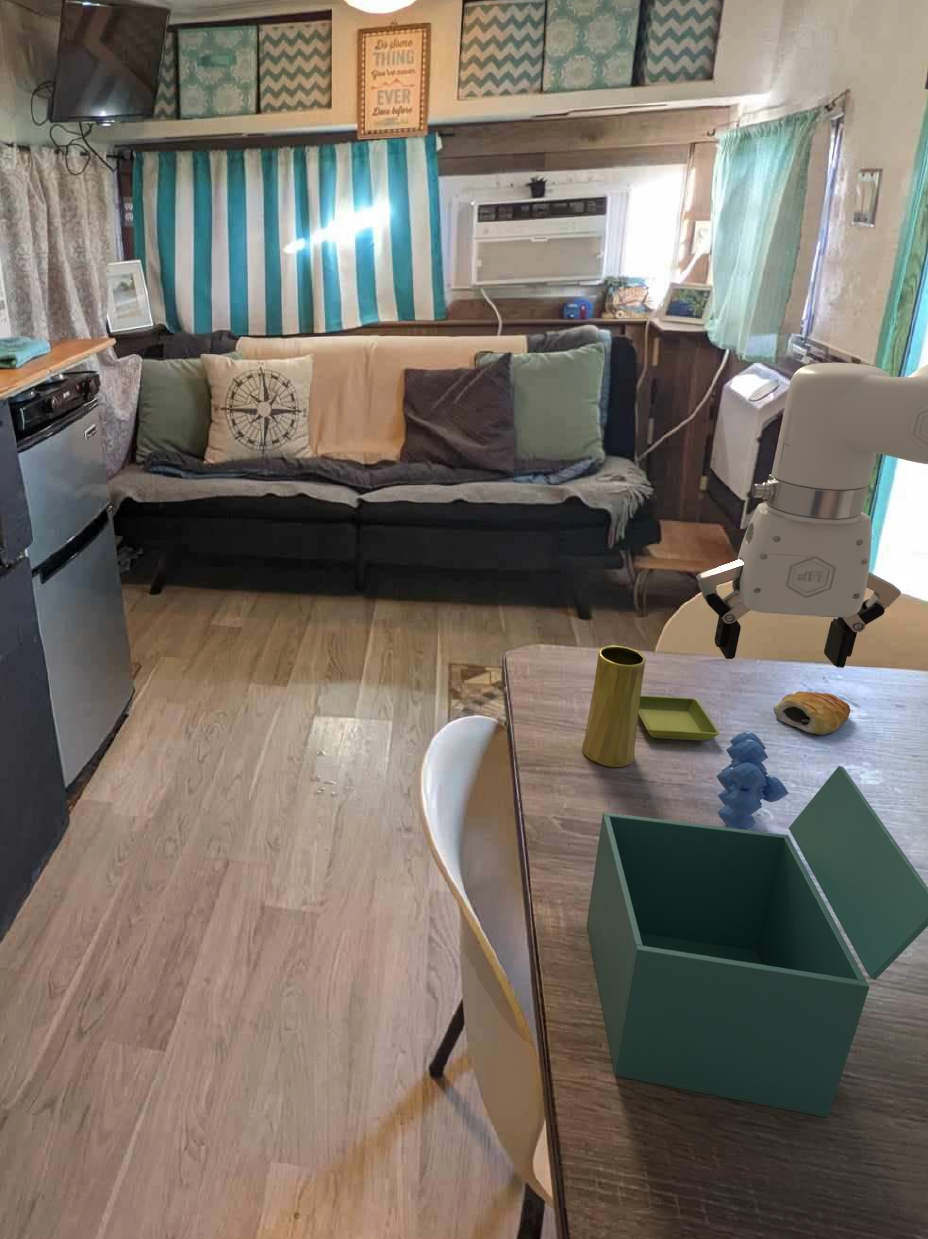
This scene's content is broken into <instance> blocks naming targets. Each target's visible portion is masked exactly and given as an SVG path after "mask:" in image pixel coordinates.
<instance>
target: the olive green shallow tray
mask: <svg viewBox="0 0 928 1239" xmlns="http://www.w3.org/2000/svg"><path fill="white" fill-rule="evenodd" d="M638 717H640V720H641V722H642V723H643V726H644V727H645V728H646V731H647V733H648V734H649V735H650V736H651V737H652V738H653V739H664V740H665V739H666V740H681V741H695V742H697V741H699V742H701V741H703V742H704V741H708V740H711V739H713V738H715V737H717V736H719V735H720V731H719V729H718V728H717V726H716V725H715V723H713V721H712V719H711V718H710V717H709V715H708V713H707V712H706V711H705V708H703V706H702V704H701V703H700V701H699V700H698V699H697V698H692V697H677V696H661V695H660V696H659V695H658V696H657V695H641V696H640V705H639V712H638Z"/></svg>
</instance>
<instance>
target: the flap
mask: <svg viewBox="0 0 928 1239" xmlns="http://www.w3.org/2000/svg"><path fill="white" fill-rule="evenodd" d="M788 830H789V832H790V834H791V836H792V838H793V839H794V841H795V844H796V845H797V846H798V848H799V850H800V852H801V854H802V856H803V858H804V859H805V861H806V863H807V865H808V867H809V869H810V870H811V873H812V874H813V876H814V878H815V879H816V881H817V883H818V885H819V887H820V889H821V891H822V892H823V894H824V896H825V898H826V900H827V902H828V904H829V906H830V907H831V909H832V911H833V913H834V915H835V917H836V919H837V920H838V922H839V924H840V926H841V928H842V930H843V932H844V934H845V935H846V937H847V938H848V940H849V943H850V945H851V947H852V948H853V950H854V952H855V953H856V955H857V957H858V959H859V961H860V962H861V964H862V966H863V968H864V971H865V972H866V974H867V975H868V977H869V979H871V980H874V981H876V980H877V979H878V978H879V977H880V976H881V975H882V974H883V973H884V972H885V971H886V970H887V969H888V968H889V967H890V966H891V965H892V963H894V962H895V960H897V959H898V958H899V957H900V955H901V954H903V952H904V951H906V949H907V948H908V947H909V946H910V945H911V944H912V943H913V942H914V941H915V940H916V939H917V938H918V937H919V936H920V935H921V934H922V933H923V932H924V931H925V930H926V929H927V928H928V885H927V884H926V883H925V881H924V880H923V878H922V877H921V875H920V874H919V872H918V871H917V870H916V868H915V867H914V865H913V864H912V863H911V861H910V860H909V858H908V857H907V856H906V854H905V853H904V851H903V849H902V848H901V847H900V846H899V844H898V843H897V842H896V840H895V839H894V837H893V836H892V834H891V833H890V831H889V830H888V829H887V827H886V826H885V824H884V823H883V822H882V820H881V819H880V817H879V816H878V815H877V813H876V812H875V810H874V808H873V807H872V806H871V804H870V803H869V801H868V800H867V799H866V797H865V796H864V794H863V793H862V791H861V790H860V788H859V787H858V786H857V784H856V783H855V781H854V780H853V779H852V777H851V776H850V774H849V773H848V771H847V770H846V769H845V767H844V766H841V765H838V766H837V767H836V769H835V770H834V771H833V772H832V774H831V775H830V776H829V777H828V779H827V780H826V781H825V782H824V783H823V785H822V786H821V787H820V788H819V790H818V791H817V792H816V794H814V796H813V797H812V798H811V800H809V802H808V803H807V805H806V806H805V807H804V808H803V809H802V811H800V813H799V815H798V816H797V817H796V818H795V819H794V821H793V822H792V823H791V824H790V826H789V827H788Z"/></svg>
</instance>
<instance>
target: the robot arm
mask: <svg viewBox="0 0 928 1239" xmlns="http://www.w3.org/2000/svg"><path fill="white" fill-rule="evenodd" d="M782 415H783V416H782V418H781V419H782V420H781V425H780V429H779V435H778V439H777V446H776V449H775V455H774V458H773V465H772V468H771V474H768V476H767V479H766V482H762V483H753V484H752V485H751V489H750V490H751V491H750V492H751V498H760V499H761V500H763V501H765V502H763V503H762V502H761V503H759V504H758V505H757V506H756V509H754V510H755V511H754V512H753V515H752V516H751V518H750V521H749V523H748V526H747V528H746V531H745V533H744V537H743V538H742V542H741V545H740V549H739V552H738V555H737V558H736V560H735V561H732V562H730V563H726V564H723V565H721V566H718V567H716V568H712V569H709V570H705V571H703V572H700V573H698V574H697V575H696V576H695V581H696V583H697V586H698V588H699V590H700V592H701V594H702V597H703V599H704V600H705V602H706V603H707V605H708V606H709V607H710V608H711V609H712V610H713V611H714V612H715V613H716V614H717V615H718V618H717V624H716V627H715V628H716V629H715V635H714V644H715V647H717V648H719V650H720V652H721V653H722V655H723V656H724V658H725V659H726V660H733V659H735V658H736V654H737V649H738V644H739V638H740V634H741V627H742V625H741V624H740V623H739V621H738V620H739V619H741V618H742V617H743V616H745V615H747V613H749V612H750V611H753V612H755V613H761V614H774V615H775V614H776V615H789V616H805V617H820V618H832V620H831V621H830V625H829V629H828V633H827V637H826V641H825V644H824V649H823V654H824V655H825V656H826V658H827V659H828V660H829V662H831V664H832V665H833V666H834V667H836V668H839V669H844V668H845V666H846V662H847V658H849V657H851V656H852V655H853V650H854V646H855V642H856V638H857V634H858V633H861V632H863V631H864V630H865V628H866V625H868V624H870V623H872V622H873V621H876V620H878V619H879V618H881V617H882V616H883V615H884V614H885V612H886V609H888V608H889V607H890V606H891V605H892V604H893V603H895V601H896V600H897V599H898V598H899V597H900V596H901V593H902V592H901V591H902V590H901V589H899V588H898V587H897V586H896V585H894V584H893V583H891V582H890V581H887V580H886V579H884V578H882V577H880V576H877V575H875V574H874V573H873V572H870V564H871V557H872V556H871V554H872V536H873V534H872V533H873V531H872V517H871V516H870V515H869V514H867V513H866V512H863V508H864V505H865V501H866V496H867V493H868V488H869V484H870V480H871V476H872V472H873V468H874V464H875V461H876V460H875V459H876V456H877V454H879V455H884V456H887V457H891V458H894V459H895V458H896V459H900V460H904V461H908V462H911V463H916V464H917V463H918V464H922V465H928V364H926V365H924V366H921V367H920V368H918V369H916V370H915V371H914V372H912V373H911V374H909V375H908V376H891V375H890V374H889V373H888V371H886V370H885V369H883V368H880V367H877V366H873V365H869V364H862V363H861V364H860V363H851V362H819V363H818V362H817V363H812V364H808V365H803V366H802V367H801V368H799V369H797V371H796V372H794V374H793V375H792V377H791V379H790V382H789V386H788V390H787V395H786V398H785V404H784V408H783V414H782ZM730 581H732V582H731V583H732V584H731V588H732V590H733V591H731V592H730V593H729V594H728V595H726V596H725V597H724V598H722V597H721V596H720V595H719V594H718V591H717V587H718V586H719V585H721V584H724V583H727V582H730ZM867 589H869V590H871V591H873V594H872V595H870V598H868V599H865V595H866V591H867Z"/></svg>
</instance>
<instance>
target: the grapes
mask: <svg viewBox="0 0 928 1239" xmlns="http://www.w3.org/2000/svg"><path fill="white" fill-rule="evenodd" d="M729 742H730V743H731V745H730V746H729V747H727V748H726V749H725V751H726V753H727V754H728V756H729V757H730V759H731V761H730V764H728V765H727V766H726V767H724V768H723V769H721V771H720V772H719V773H718V774H716V775H715V776H716V779H717V780H718V782H719V783H720V784H721V786H722V787H723V789H724V790H723V791H721V792H720V793H719V794H717V796H718V798H719V800H720V801H721V803H722V804H723V805H724V807H722V808H721V809H719V810H718V811H717V812H716V813H717V814H718V816H719V818H720V819H721V820H722V822H723V824H724V825H725V826H726V827H727V828H735V829H743V830H749V829H750V828H751V827H753V826H754V825H756V824H757V821H756V820H755V818H754V816H753V814H755V813H756V812H757V811H759V810H760V809H761V808H763V806H762V805H763V803H762V802H761V801H763V800H764V801H766V802H767V803H775V802H777V801H780V800H781V799H783V798H784V797H786V796H787V795H789V791H788V790H787V788H786V786H785V785H784V783H783V782H782V781H781V780H780V779H779V777H775V776H773V775H771V774H769V773H768V772H767V770H768V769H767V767H766V766H765V765H764V763H763V762H764V761H766V760H767V759H768V758H769V756H768V754H767V753H766V751H765V750H766V749H767V748H766V747H765V745H764V743H763V741H762V740H761V739H760V737H759V736H758V735H757V734H756V733H754V732H751V731H748V730H746V731H744V732H741V733H738V734H737V735H735V736H734V737H733V738H732V739H730V740H729Z"/></svg>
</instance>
